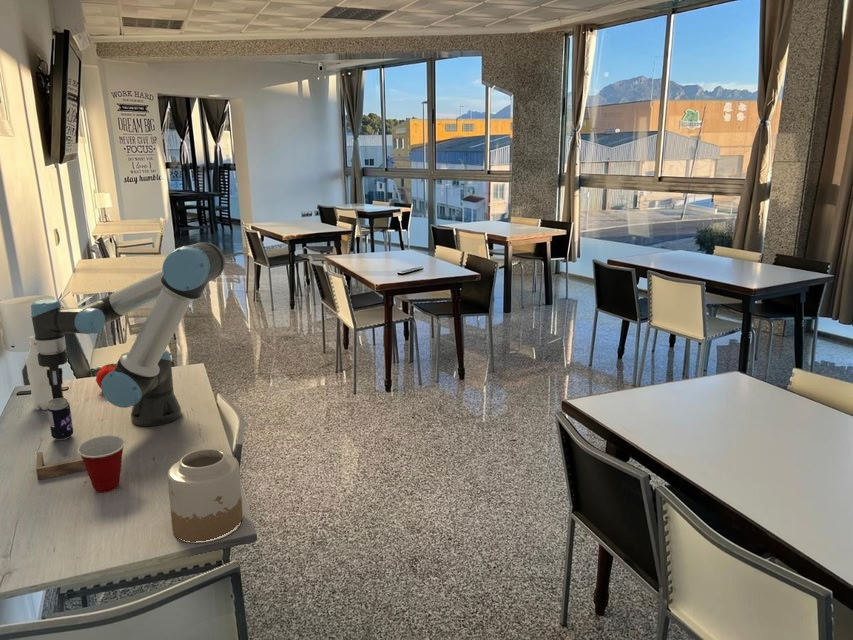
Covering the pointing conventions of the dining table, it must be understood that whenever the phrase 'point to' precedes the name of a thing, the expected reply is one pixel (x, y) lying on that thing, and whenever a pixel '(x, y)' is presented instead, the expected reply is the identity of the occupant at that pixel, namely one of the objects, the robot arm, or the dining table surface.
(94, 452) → the plastic cup
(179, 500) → the vase
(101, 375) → the tomato
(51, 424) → the beverage can
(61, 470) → the corral
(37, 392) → the water bottle
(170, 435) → the dining table surface
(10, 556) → the dining table surface
